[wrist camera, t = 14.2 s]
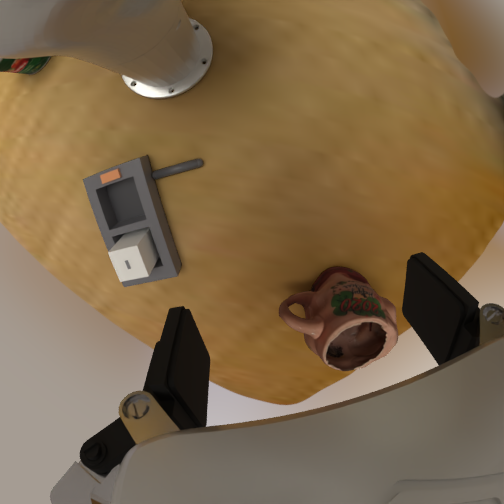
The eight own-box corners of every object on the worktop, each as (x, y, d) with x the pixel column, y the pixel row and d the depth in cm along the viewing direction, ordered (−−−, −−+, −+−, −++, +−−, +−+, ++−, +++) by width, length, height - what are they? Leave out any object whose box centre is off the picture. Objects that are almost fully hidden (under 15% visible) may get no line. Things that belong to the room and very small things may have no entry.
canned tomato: (26, 83, 26) (-18, 82, 16) (19, 52, 22) (-22, 47, 13) (59, 53, 25) (17, 42, 15) (51, 22, 22) (12, 8, 12)
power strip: (94, 174, 34) (81, 180, 31) (198, 140, 34) (193, 141, 30) (130, 275, 41) (122, 288, 38) (227, 254, 41) (227, 267, 37)
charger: (126, 232, 38) (107, 252, 32) (152, 225, 38) (136, 245, 31) (135, 258, 40) (120, 282, 33) (161, 252, 40) (148, 276, 33)
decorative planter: (260, 311, 46) (269, 375, 33) (279, 246, 41) (298, 301, 28) (362, 322, 49) (391, 375, 36) (388, 266, 44) (430, 314, 31)
